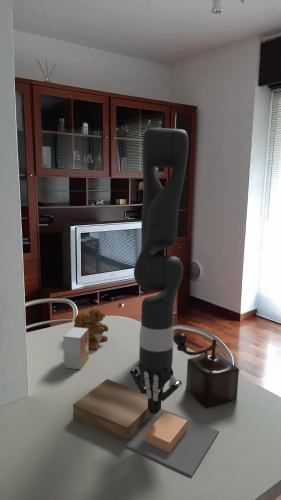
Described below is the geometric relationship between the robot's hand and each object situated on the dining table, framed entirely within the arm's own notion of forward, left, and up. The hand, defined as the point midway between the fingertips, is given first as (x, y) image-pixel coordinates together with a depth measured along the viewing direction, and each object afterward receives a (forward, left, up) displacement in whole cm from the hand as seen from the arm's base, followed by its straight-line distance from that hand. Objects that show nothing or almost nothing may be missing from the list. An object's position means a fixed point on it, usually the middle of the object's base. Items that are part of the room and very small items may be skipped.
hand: (154, 411), depth 87 cm
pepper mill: (-20, +4, -5) cm, 21 cm away
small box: (-15, -37, -5) cm, 40 cm away
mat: (0, +5, -5) cm, 7 cm away
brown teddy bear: (-30, -44, -5) cm, 53 cm away
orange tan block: (0, +4, -2) cm, 4 cm away
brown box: (0, -11, -5) cm, 12 cm away
